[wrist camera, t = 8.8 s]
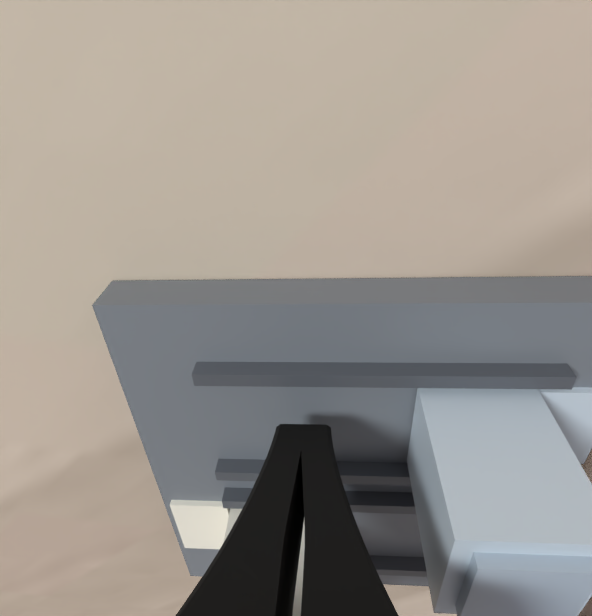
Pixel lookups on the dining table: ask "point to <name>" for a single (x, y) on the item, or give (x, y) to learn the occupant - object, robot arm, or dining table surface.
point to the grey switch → (499, 504)
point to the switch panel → (331, 383)
